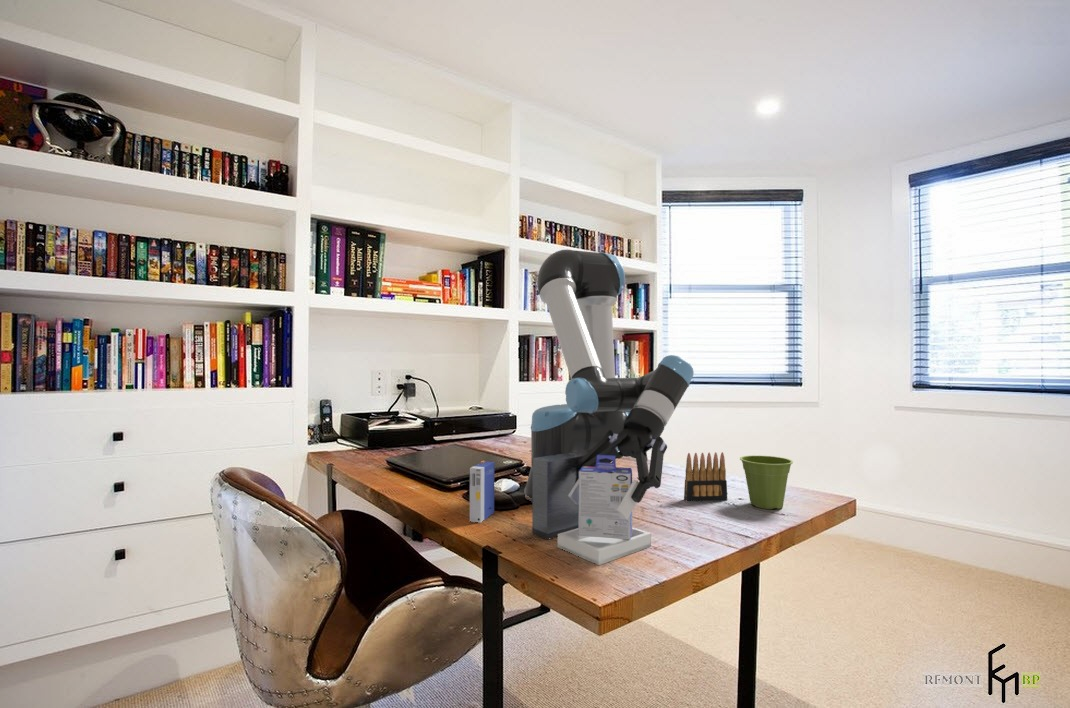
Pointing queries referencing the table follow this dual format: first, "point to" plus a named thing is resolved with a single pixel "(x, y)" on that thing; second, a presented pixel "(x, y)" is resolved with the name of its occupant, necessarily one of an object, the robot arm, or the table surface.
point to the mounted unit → (555, 494)
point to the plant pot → (766, 480)
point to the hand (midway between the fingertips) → (596, 507)
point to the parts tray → (603, 545)
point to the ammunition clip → (705, 479)
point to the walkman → (481, 491)
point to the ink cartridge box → (603, 500)
